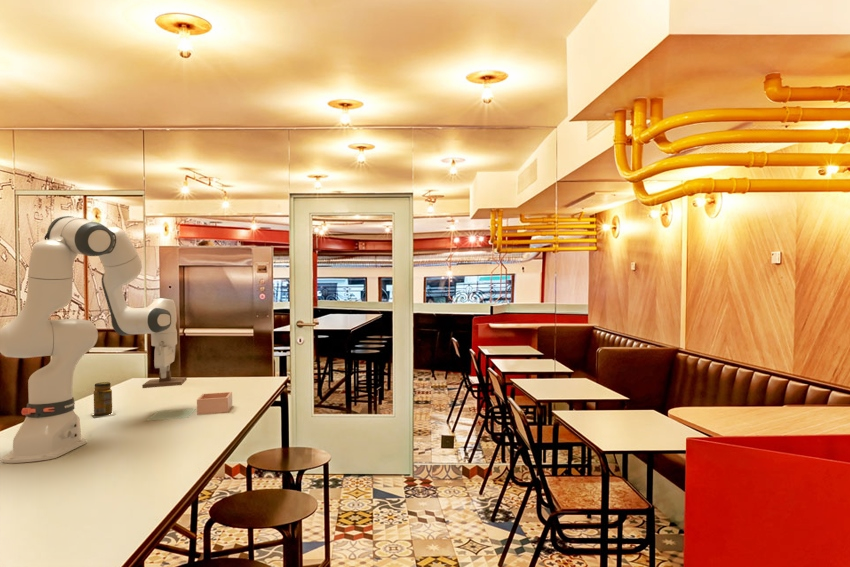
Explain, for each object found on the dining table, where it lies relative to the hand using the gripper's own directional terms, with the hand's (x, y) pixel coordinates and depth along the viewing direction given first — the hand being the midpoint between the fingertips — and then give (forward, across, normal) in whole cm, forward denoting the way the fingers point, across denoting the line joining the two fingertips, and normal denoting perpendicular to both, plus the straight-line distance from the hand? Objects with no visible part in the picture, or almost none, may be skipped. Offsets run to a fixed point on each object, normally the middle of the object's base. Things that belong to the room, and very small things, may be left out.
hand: (165, 377), depth 200 cm
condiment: (+14, +10, +24) cm, 30 cm away
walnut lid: (+3, 0, 0) cm, 3 cm away
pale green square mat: (+14, -2, -2) cm, 15 cm away
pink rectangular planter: (+14, -1, -18) cm, 23 cm away
